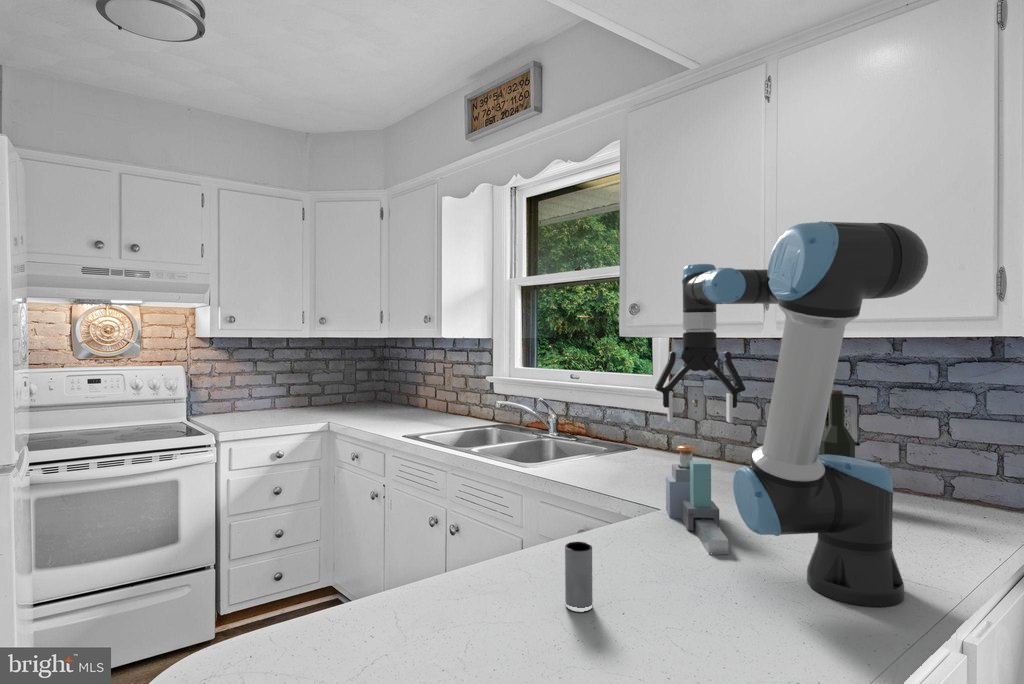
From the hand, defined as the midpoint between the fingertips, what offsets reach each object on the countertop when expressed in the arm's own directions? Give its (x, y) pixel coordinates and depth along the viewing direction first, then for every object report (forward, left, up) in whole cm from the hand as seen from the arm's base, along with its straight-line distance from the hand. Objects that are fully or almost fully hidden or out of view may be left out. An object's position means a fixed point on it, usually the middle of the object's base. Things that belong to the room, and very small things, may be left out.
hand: (699, 421), depth 143 cm
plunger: (+9, +1, -15) cm, 18 cm away
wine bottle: (+22, -40, -25) cm, 52 cm away
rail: (-6, 0, -25) cm, 26 cm away
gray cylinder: (-44, +29, -25) cm, 58 cm away
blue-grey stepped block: (+9, +1, -25) cm, 26 cm away
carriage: (0, 0, -25) cm, 25 cm away
